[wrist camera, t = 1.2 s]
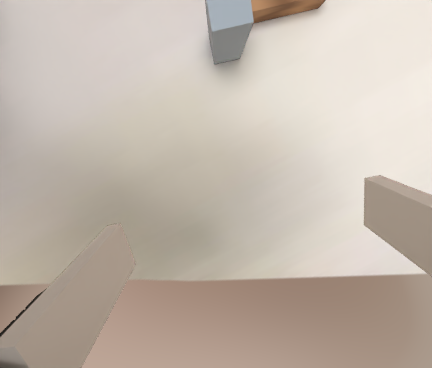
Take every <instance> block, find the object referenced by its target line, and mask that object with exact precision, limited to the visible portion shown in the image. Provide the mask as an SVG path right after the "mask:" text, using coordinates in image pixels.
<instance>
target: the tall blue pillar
mask: <svg viewBox="0 0 432 368" xmlns="http://www.w3.org/2000/svg"><path fill="white" fill-rule="evenodd" d="M205 4H206V14H207V23H208V33H209V39H210V45H211V50H212V56H213V61H214V64H218V63H222V62H227V61H231V60H236V59H240V57H241V54H242V52H243V49H244V46H245V44H246V41H247V38H248V36H249V33H250V30H251V28H252V25H253V22H254V20H253V13H252V5H251V0H205Z"/></svg>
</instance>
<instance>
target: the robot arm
mask: <svg viewBox="0 0 432 368" xmlns="http://www.w3.org/2000/svg"><path fill="white" fill-rule="evenodd" d="M364 225H365V226H366V227H367V228H369V229H370V230H371V231H372V232H374V233H375V234H376V235H378V236H379V237H380V238H382V239H383V240H384V241H386V242H387V243H388V244H390V245H391V246H392V247H393V248H395V249H396V250H397V251H399V252H400V253H401V254H403V255H404V256H405V257H407V258H408V259H409V260H411V261H412V262H413V263H414V264H416V265H417V266H418V267H420V268H421V269H422V270H424V271H425V272H426V273H428V274H429V275H430V276H432V195H430V194H427V193H425V192H422V191H420V190H417V189H414V188H412V187H409V186H407V185H404V184H401V183H399V182H396V181H394V180H391V179H388V178H386V177H383V176H381V175H379V176H373V177H368V178H365V186H364ZM135 265H136V263H135V260H134V257H133V255H132V252H131V249H130V247H129V244H128V241H127V239H126V236H125V233H124V231H123V228H122V226H121V223H118V224H112V225H107V226H106V227H105V228H104V229H103V230H102V231H101V233H100V234H99V235H98V236H97V237H96V238H95V239H94V240H93V241H92V242H91V243H90V244H89V245H88V246H87V247H86V248H85V249H84V250H83V251H82V252H81V253H80V254H79V255H78V257H77V258H76V259H75V260H74V261H73V262H72V263H71V264H70V265H69V266H68V267H67V268H66V269H65V270H64V271H63V272H62V273H61V274H60V275H59V276H58V277H57V278H56V279H55V281H54V282H53V283H52V284H51V285H50V286H49V287H48V288H47V289H45V290H44V291H43V292H41V293H40V294H39V295H37V296H36V297H35V298H34V299H33V301H32V302H31V303H30V304H29V305H28V306H27V307H26V309H25V310H23V311H22V312H21V313H20V314H19V315H18V316H17V317H16V319H15V320H13V321H12V322H11V323H10V324H9V325H8V326H7V327H6V328H5V329H4V330H3V331H2V332H1V333H0V368H82V366H83V364H84V362H85V360H86V358H87V356H88V354H89V353H90V351H91V349H92V347H93V345H94V343H95V341H96V339H97V337H98V335H99V334H100V331H101V330H102V328H103V326H104V324H105V322H106V320H107V318H108V316H109V315H110V313H111V310H112V309H113V307H114V305H115V303H116V301H117V299H118V297H119V296H120V294H121V292H122V290H123V288H124V286H125V284H126V282H127V280H128V278H129V276H130V275H131V273H132V271H133V269H134V267H135Z"/></svg>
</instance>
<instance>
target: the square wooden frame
mask: <svg viewBox="0 0 432 368" xmlns="http://www.w3.org/2000/svg"><path fill="white" fill-rule="evenodd" d="M324 1H325V0H251V5H252V13H253V20H254V22H253V23H257V22H261V21H265V20H270V19H274V18H278V17H282V16H287V15H291V14H295V13H299V12H304V11H308V10H312V9H316V8H319V7H320V6H321V5H322V4H323V3H324Z"/></svg>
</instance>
